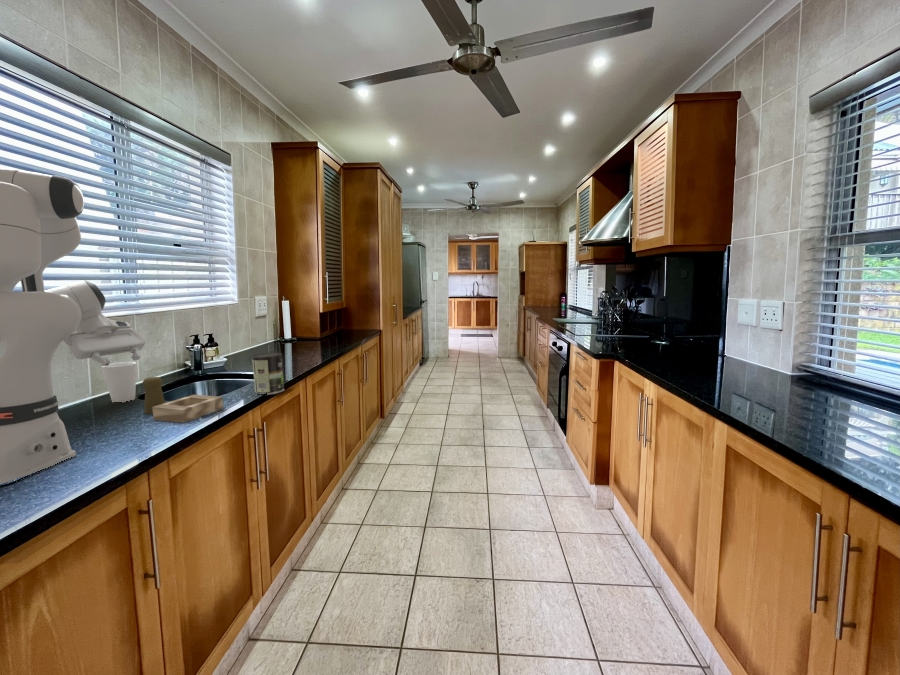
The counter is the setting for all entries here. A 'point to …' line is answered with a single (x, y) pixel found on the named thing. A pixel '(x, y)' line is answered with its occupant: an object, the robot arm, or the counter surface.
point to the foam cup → (121, 380)
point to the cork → (152, 393)
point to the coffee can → (268, 373)
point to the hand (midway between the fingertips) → (122, 361)
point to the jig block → (187, 408)
